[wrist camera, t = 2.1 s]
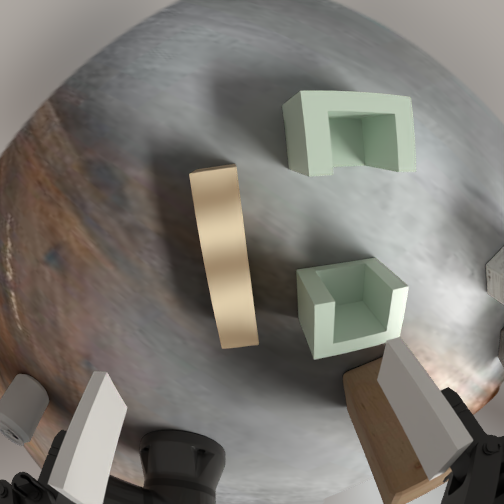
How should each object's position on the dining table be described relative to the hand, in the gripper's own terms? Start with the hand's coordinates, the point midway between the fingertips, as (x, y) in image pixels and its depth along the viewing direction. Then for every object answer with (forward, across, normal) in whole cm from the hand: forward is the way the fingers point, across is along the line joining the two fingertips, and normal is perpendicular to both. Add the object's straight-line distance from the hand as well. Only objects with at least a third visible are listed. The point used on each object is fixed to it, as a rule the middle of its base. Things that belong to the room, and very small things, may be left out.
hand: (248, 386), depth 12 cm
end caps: (+17, +10, +2) cm, 20 cm away
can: (+17, -39, -20) cm, 47 cm away
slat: (+17, -1, 0) cm, 17 cm away
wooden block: (+17, +17, -22) cm, 33 cm away
